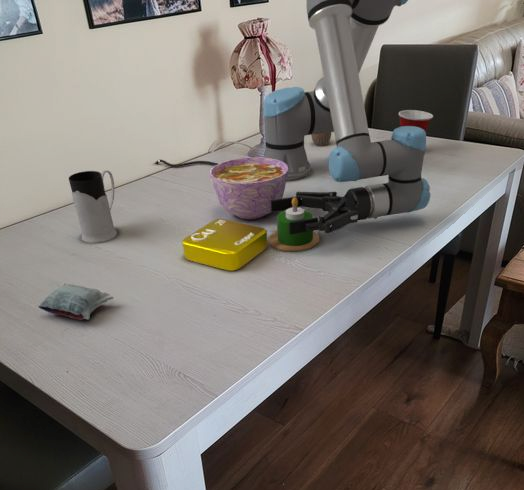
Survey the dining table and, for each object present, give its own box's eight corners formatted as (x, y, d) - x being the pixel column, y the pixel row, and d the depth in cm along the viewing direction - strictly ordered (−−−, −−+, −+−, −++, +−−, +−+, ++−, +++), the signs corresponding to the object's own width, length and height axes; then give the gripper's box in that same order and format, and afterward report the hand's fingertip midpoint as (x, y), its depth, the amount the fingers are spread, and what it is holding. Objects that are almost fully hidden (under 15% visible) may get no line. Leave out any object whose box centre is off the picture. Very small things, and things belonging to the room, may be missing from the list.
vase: (333, 141, 191) (333, 115, 186) (328, 147, 186) (329, 120, 180) (314, 141, 193) (314, 115, 188) (309, 146, 188) (309, 120, 182)
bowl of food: (198, 216, 142) (192, 172, 135) (250, 193, 154) (248, 152, 147) (252, 235, 131) (249, 189, 124) (305, 209, 142) (305, 165, 135)
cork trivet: (258, 242, 128) (258, 240, 128) (291, 225, 135) (291, 224, 134) (296, 256, 121) (296, 254, 121) (329, 238, 128) (329, 236, 127)
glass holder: (74, 240, 134) (57, 180, 125) (107, 218, 144) (94, 161, 135) (103, 244, 131) (88, 183, 122) (135, 221, 141) (123, 164, 133)
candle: (304, 228, 132) (304, 188, 126) (318, 242, 125) (318, 200, 119) (272, 234, 130) (271, 194, 124) (284, 248, 123) (283, 206, 117)
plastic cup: (429, 157, 172) (434, 117, 165) (394, 156, 174) (398, 117, 167) (427, 147, 181) (432, 108, 174) (394, 146, 183) (398, 108, 176)
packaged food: (69, 294, 112) (63, 273, 109) (116, 305, 108) (110, 283, 105) (40, 316, 106) (32, 295, 103) (88, 328, 101) (81, 306, 99)
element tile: (234, 273, 116) (232, 252, 113) (180, 258, 123) (177, 239, 120) (270, 245, 126) (270, 226, 123) (219, 233, 133) (217, 215, 130)
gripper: (388, 238, 120) (298, 254, 116) (343, 200, 139) (265, 212, 135) (391, 206, 116) (297, 221, 111) (345, 171, 135) (264, 183, 131)
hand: (279, 216), depth 123 cm, fingers open, 13 cm apart
